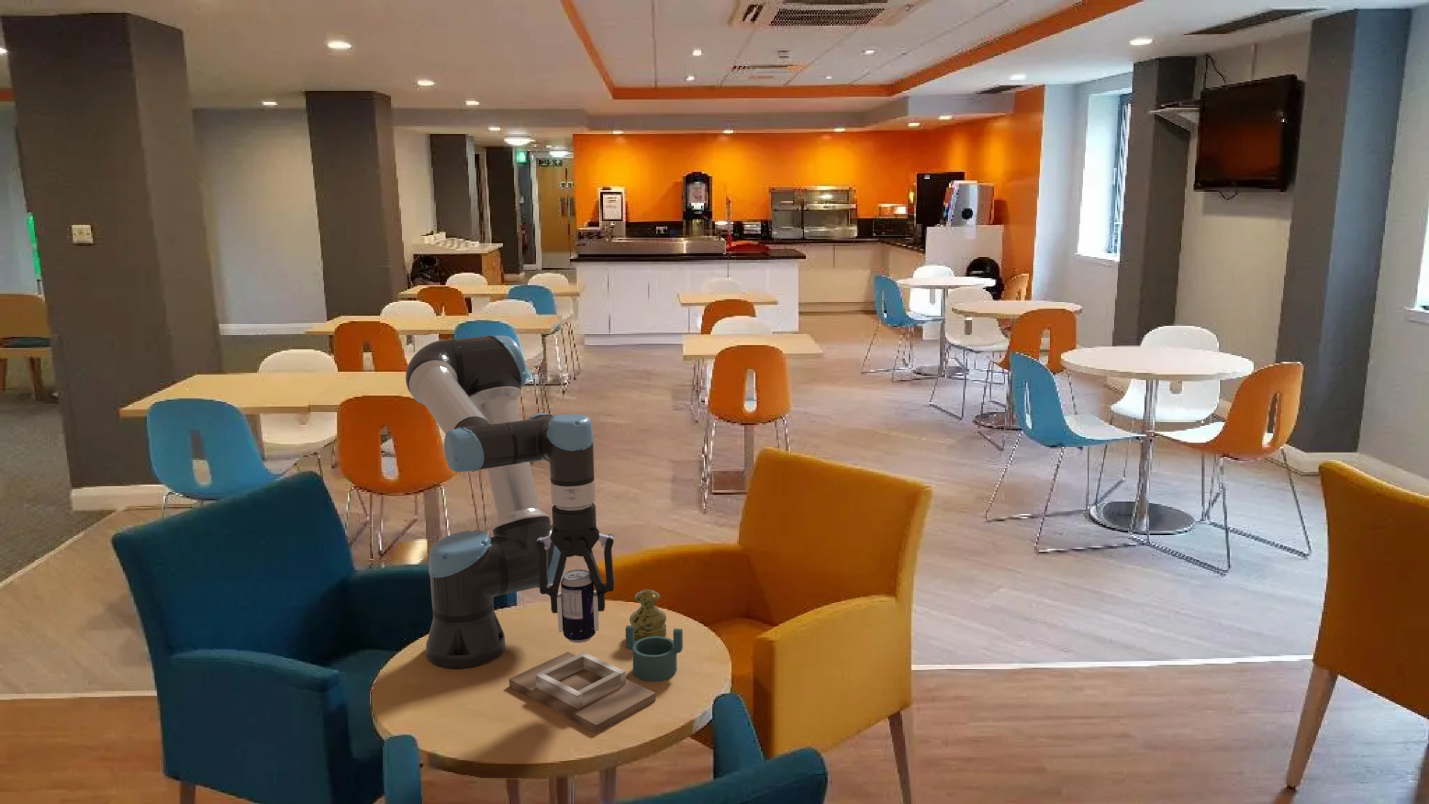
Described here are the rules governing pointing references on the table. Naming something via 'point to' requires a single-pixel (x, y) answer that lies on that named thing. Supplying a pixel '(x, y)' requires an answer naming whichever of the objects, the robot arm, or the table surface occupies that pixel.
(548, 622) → the table surface
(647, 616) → the brass calibration weight
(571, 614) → the beverage can
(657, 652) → the teal cauldron pot
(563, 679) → the can holder
